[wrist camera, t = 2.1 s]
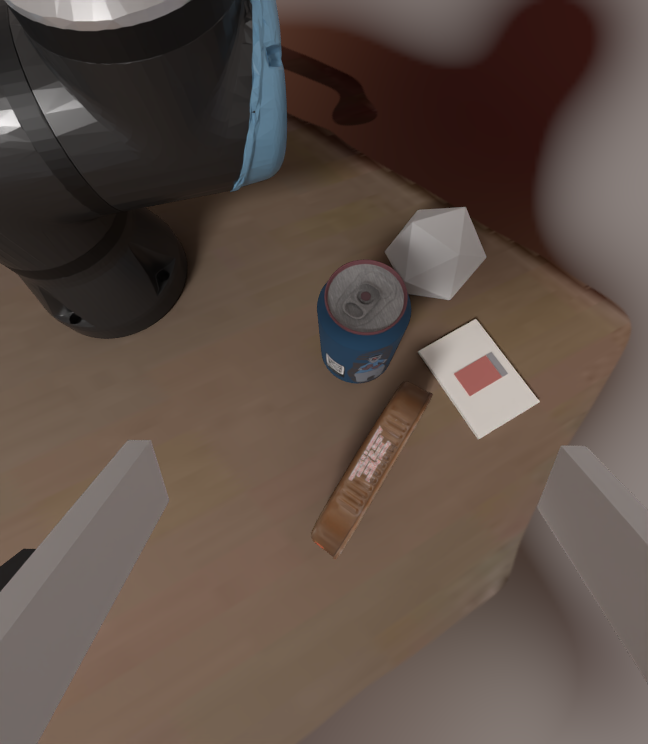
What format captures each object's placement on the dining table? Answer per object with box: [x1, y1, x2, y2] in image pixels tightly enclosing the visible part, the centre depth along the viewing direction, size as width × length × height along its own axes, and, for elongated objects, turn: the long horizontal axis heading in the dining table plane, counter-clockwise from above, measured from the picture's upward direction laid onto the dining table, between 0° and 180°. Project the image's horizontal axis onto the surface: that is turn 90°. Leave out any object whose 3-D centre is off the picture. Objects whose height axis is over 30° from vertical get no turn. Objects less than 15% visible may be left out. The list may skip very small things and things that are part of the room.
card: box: [418, 319, 540, 439], centre depth 34 cm, size 10×7×1 cm
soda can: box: [317, 260, 411, 383], centre depth 30 cm, size 7×7×12 cm
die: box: [385, 207, 486, 300], centre depth 34 cm, size 8×9×10 cm
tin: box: [311, 382, 433, 559], centre depth 28 cm, size 15×3×8 cm, turn 147°
